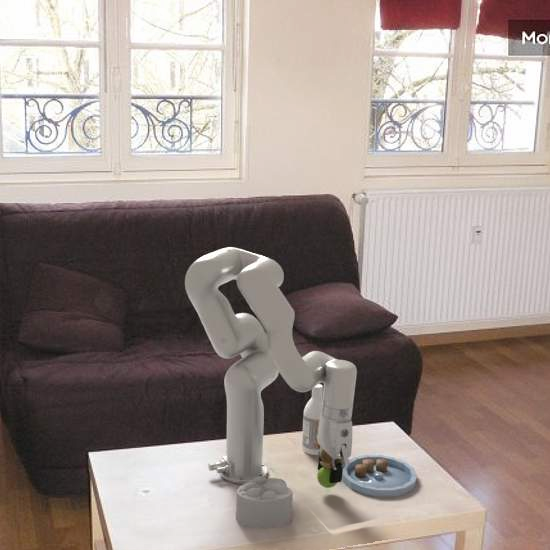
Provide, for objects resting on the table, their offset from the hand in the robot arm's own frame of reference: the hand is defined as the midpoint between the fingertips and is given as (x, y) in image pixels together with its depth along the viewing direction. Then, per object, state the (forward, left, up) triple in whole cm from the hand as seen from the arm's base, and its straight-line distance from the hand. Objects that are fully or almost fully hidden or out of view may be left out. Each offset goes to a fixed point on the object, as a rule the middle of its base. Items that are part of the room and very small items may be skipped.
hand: (329, 475), depth 221 cm
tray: (+16, +2, -6) cm, 17 cm away
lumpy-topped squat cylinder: (-19, -3, -6) cm, 21 cm away
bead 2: (+15, +7, -5) cm, 18 cm away
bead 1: (+12, +5, -5) cm, 14 cm away
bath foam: (+8, +23, -6) cm, 25 cm away
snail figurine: (0, 0, -3) cm, 3 cm away
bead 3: (+19, +6, -5) cm, 20 cm away
